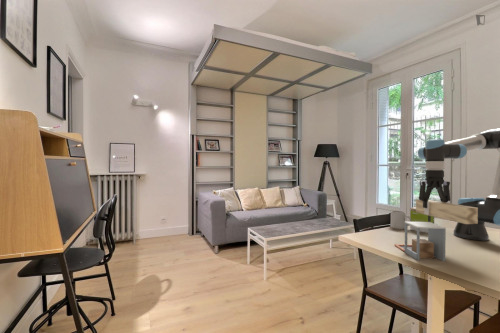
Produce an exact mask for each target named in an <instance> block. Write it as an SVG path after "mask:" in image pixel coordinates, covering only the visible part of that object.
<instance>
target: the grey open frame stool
mask: <svg viewBox="0 0 500 333" xmlns="http://www.w3.org/2000/svg"><path fill="white" fill-rule="evenodd" d="M407 224H409V225H412V226H414V227H416V228H417V231H416V239H417V253H415V252H414V251H412V244H408V226H407ZM420 228H428V233H427V240H428V241H430V242H432V243H434V258H436V259H438V260H440V261H442V262H446V233H447V232H446V231H447V230H446V228H447V227H445V226H443V225H440V224H436V223H435V222H434V223H431V222H410V221H407V220H405V229H404V244H403V243H402V244H401V243H400V244H399V243H397V244H396V243H394V246H395V247H396V248H397V249H399V250H400V251H402V252H404V253H406V254H407V255H408V256H410V257H411V258H413V259H414V260H416V261H419V262H420V261H421V260H420V259H421V258H420V239H421V238H420V237H421V234H420V233H421V232H420Z"/></svg>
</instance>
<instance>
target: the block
mask: <svg viewBox="0 0 500 333" xmlns="http://www.w3.org/2000/svg"><path fill="white" fill-rule="evenodd" d="M411 245H412V251H414V252H415V253H417V238H412V239H411ZM434 258H435V256H434V243H432V242H430V241H428V239H425V238H424V239H423V238H422V239H421V238H420V259H433V260H434Z"/></svg>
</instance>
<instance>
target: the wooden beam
mask: <svg viewBox="0 0 500 333" xmlns="http://www.w3.org/2000/svg"><path fill="white" fill-rule="evenodd" d="M428 202H430V207H429V216H433V217H434V218H438V219H443V220H447V221H450V222H455V223H457V222H459V223H463V224H478V208H476V207H469V206H463V205H457V204H458V203H449V202H446V203H445V202H441V201H438V200H437V201H436V200H431V199H429V200H428ZM415 206H416V213H420V214H424V208H423V201H421V200H419V199H415ZM425 215H426V214H425Z"/></svg>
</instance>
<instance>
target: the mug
mask: <svg viewBox="0 0 500 333" xmlns="http://www.w3.org/2000/svg"><path fill="white" fill-rule="evenodd" d="M407 218H408V219H409V222H411V217H410V215H407V214H406V212H405V211H401V210H391V211H390V228H393V229H395V230H397V229H398V230H405V221H406V219H407ZM407 227H410V225H409V224H407Z"/></svg>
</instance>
